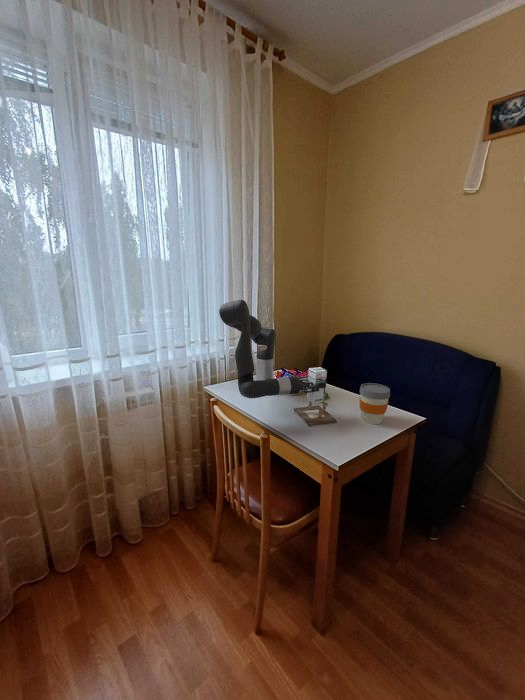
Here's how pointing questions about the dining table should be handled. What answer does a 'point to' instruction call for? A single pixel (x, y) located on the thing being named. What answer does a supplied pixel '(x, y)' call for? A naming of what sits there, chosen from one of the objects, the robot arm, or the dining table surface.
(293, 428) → the dining table surface
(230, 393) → the dining table surface
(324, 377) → the syrup box
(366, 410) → the reusable coffee cup
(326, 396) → the walkie-talkie
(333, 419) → the pin board
